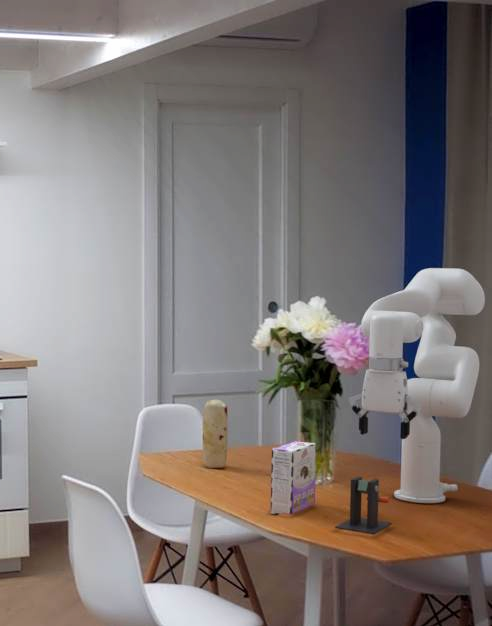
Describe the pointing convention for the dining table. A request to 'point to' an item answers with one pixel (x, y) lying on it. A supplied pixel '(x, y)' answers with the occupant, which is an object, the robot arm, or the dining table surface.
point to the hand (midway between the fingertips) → (383, 435)
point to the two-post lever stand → (371, 523)
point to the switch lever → (364, 489)
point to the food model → (215, 434)
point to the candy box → (293, 477)
